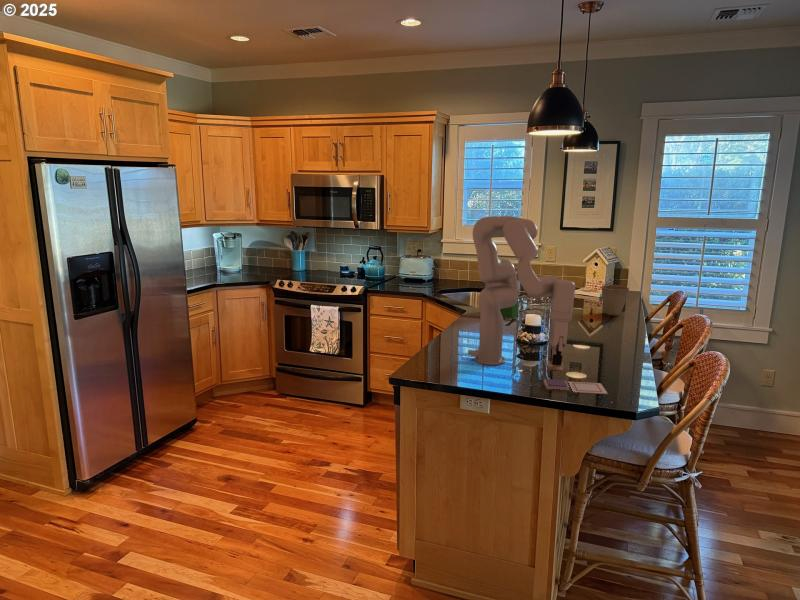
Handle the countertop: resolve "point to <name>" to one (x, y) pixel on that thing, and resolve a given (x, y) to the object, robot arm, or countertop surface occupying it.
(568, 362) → the countertop surface
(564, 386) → the ink pad
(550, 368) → the stamp
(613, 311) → the plant pot
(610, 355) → the countertop surface
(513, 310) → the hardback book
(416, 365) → the countertop surface
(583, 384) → the note card
